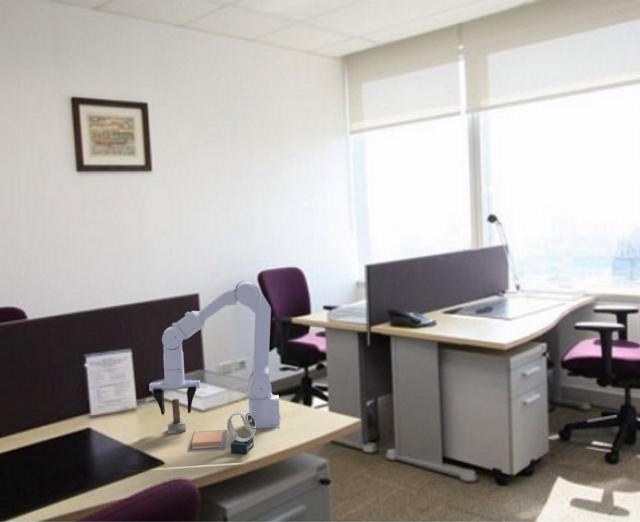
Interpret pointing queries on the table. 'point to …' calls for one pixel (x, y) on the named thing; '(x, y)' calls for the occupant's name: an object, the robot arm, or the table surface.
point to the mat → (210, 447)
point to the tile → (207, 439)
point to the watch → (241, 443)
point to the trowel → (176, 419)
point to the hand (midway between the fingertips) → (176, 412)
